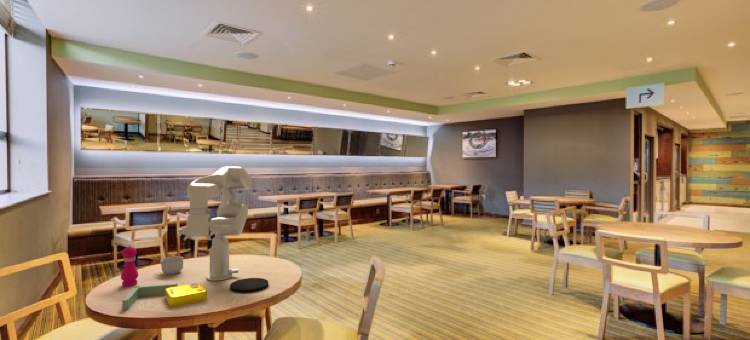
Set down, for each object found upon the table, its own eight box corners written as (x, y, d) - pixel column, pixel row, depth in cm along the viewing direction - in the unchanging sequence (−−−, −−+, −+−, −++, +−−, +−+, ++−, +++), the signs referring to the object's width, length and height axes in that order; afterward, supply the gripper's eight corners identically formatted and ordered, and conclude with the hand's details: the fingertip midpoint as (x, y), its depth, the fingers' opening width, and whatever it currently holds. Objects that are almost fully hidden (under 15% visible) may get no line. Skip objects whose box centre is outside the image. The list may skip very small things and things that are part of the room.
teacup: (187, 272, 208) (187, 257, 207) (167, 277, 198) (167, 262, 198) (173, 268, 215) (173, 254, 215) (153, 272, 206) (153, 258, 206)
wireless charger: (266, 292, 177) (266, 288, 177) (226, 294, 174) (226, 290, 174) (270, 280, 195) (270, 277, 195) (233, 282, 192) (233, 278, 192)
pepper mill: (129, 287, 182) (129, 246, 181) (117, 286, 183) (116, 245, 183) (141, 283, 189) (141, 243, 188) (129, 281, 190) (129, 242, 190)
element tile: (164, 297, 170) (164, 287, 170) (200, 291, 179) (200, 281, 179) (169, 308, 158) (169, 296, 158) (208, 300, 167) (208, 289, 167)
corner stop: (177, 291, 177) (177, 283, 177) (169, 305, 160) (169, 296, 160) (135, 295, 171) (135, 286, 171) (122, 310, 154) (122, 300, 154)
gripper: (220, 210, 178) (220, 246, 178) (182, 210, 177) (182, 247, 177) (215, 212, 171) (214, 250, 171) (175, 212, 170) (175, 250, 170)
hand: (198, 248), depth 174 cm, fingers open, 9 cm apart
